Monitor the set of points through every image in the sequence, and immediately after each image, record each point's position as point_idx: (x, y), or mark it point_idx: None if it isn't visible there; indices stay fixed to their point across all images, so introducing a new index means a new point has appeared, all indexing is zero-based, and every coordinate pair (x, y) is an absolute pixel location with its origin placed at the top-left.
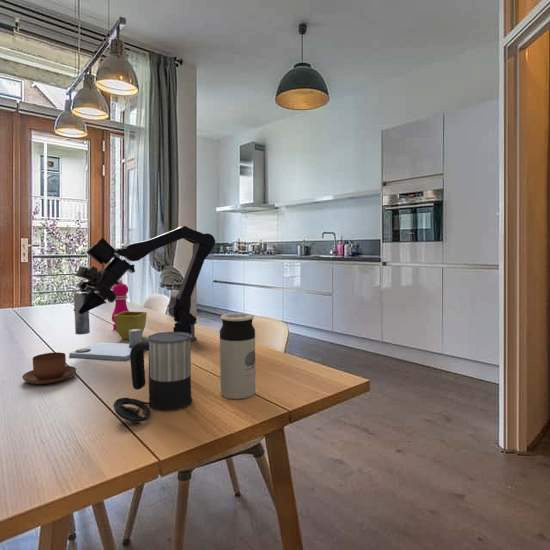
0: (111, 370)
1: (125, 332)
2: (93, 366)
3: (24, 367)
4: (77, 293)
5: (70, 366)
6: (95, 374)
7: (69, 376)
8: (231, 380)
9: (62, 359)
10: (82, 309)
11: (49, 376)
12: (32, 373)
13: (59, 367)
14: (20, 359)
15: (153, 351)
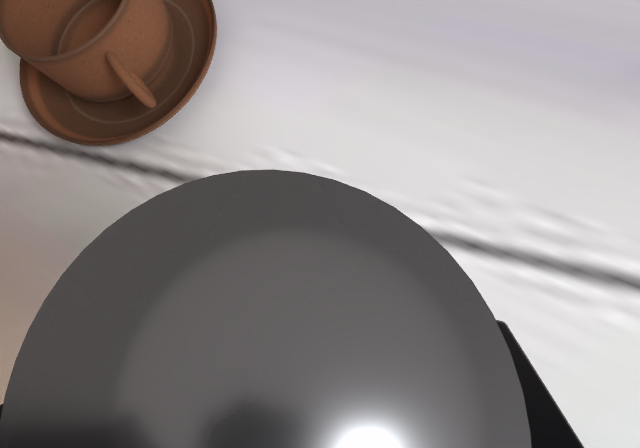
0: (4, 288)
1: None
2: None
3: (415, 40)
4: (156, 232)
5: (119, 139)
6: (23, 210)
7: (30, 91)
8: None
9: (7, 37)
10: None
11: (66, 23)
12: (205, 8)
13: (32, 42)
14: (627, 72)
15: None
